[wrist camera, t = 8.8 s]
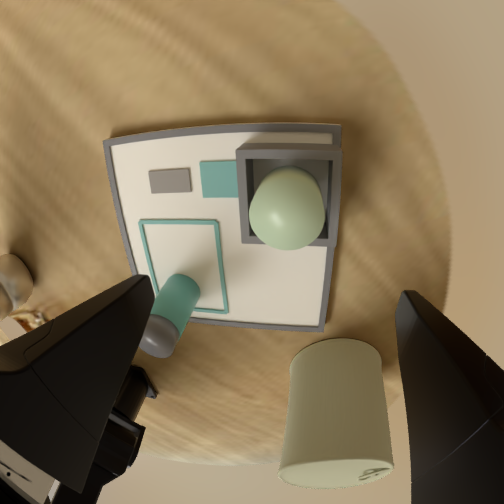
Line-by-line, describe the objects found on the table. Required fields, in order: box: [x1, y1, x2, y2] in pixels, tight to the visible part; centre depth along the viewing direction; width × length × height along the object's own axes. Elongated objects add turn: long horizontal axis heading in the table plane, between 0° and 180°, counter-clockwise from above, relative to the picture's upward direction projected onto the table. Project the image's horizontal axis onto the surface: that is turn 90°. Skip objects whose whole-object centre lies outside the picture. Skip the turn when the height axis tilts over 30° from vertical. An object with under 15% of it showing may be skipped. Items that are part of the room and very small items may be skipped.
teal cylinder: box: [139, 274, 200, 358], centre depth 21 cm, size 3×3×6 cm
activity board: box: [103, 122, 343, 332], centre depth 20 cm, size 16×16×3 cm
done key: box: [249, 165, 325, 250], centre depth 15 cm, size 4×4×3 cm
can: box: [278, 338, 394, 489], centre depth 21 cm, size 9×9×12 cm
